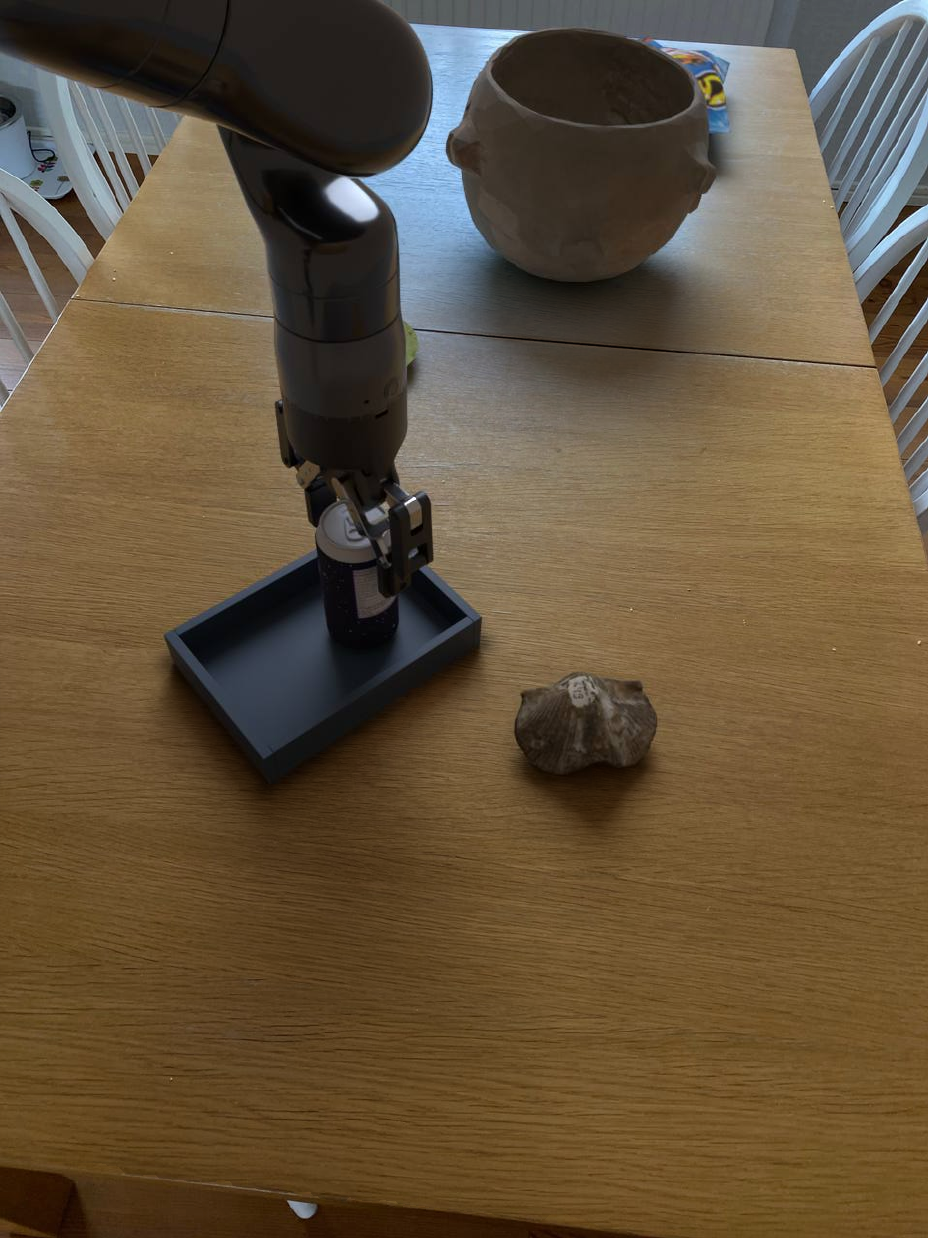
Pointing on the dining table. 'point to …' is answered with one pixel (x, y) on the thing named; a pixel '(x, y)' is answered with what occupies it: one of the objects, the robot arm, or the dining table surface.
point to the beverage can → (353, 581)
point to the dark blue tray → (312, 661)
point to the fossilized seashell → (585, 723)
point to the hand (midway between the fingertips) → (358, 554)
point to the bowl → (581, 152)
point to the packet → (705, 81)
